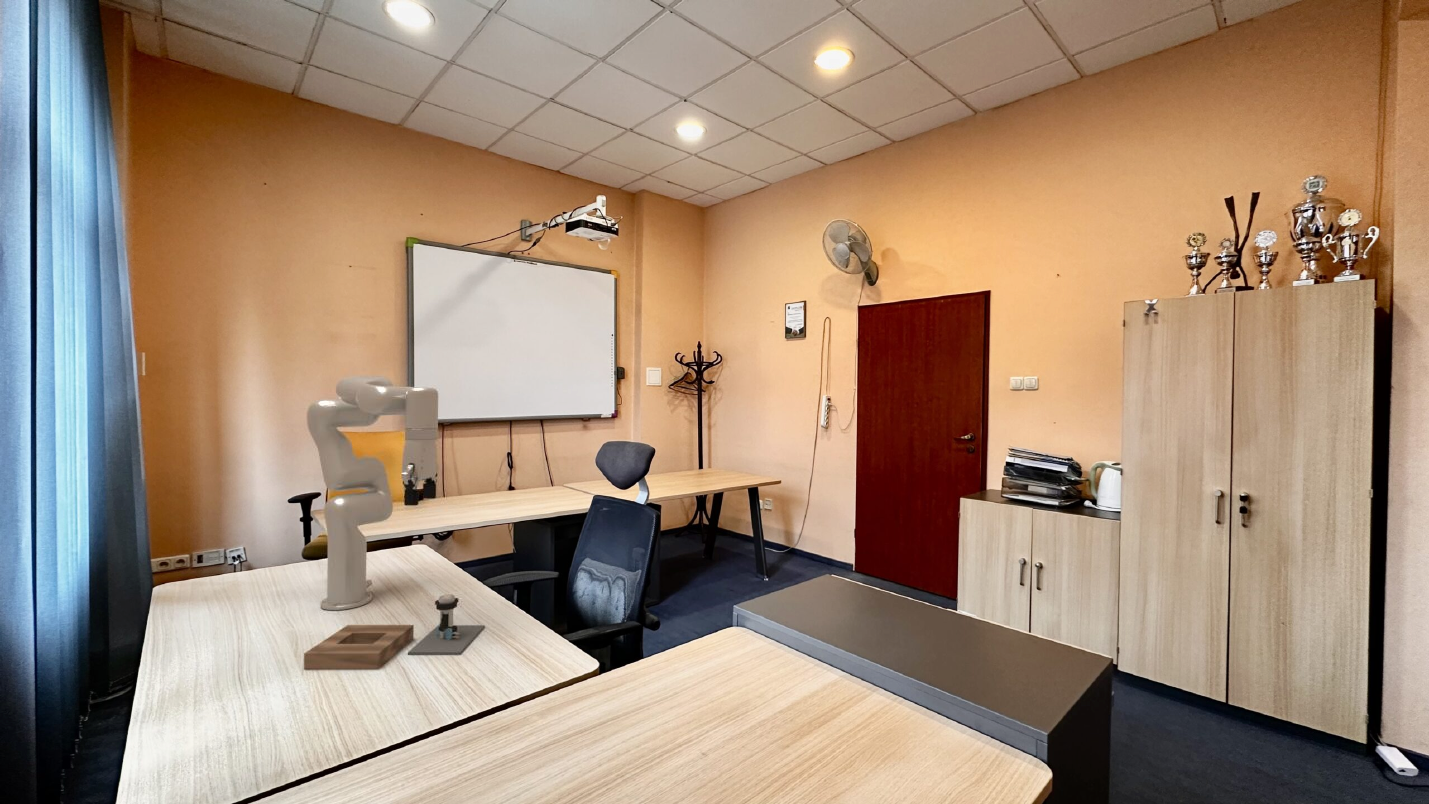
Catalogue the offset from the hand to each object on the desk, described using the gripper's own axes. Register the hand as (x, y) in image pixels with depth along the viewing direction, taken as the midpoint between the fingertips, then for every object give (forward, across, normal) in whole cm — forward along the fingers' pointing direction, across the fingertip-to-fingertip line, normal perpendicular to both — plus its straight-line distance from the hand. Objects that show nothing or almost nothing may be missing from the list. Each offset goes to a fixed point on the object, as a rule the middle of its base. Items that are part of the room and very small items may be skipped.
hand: (420, 501), depth 147 cm
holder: (+33, +13, -7) cm, 36 cm away
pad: (+33, +6, +10) cm, 35 cm away
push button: (+33, +6, +10) cm, 35 cm away
